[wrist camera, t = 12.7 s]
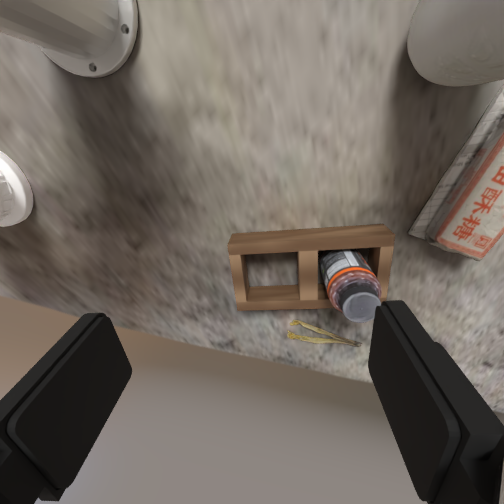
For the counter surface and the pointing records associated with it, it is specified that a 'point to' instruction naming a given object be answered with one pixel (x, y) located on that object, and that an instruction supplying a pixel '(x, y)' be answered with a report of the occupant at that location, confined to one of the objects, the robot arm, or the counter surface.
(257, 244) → the rack
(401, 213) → the counter surface
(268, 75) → the counter surface
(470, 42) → the glass bottle
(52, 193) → the counter surface
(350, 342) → the tongs
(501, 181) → the packaged product
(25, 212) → the decorative container
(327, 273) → the supplement bottle
